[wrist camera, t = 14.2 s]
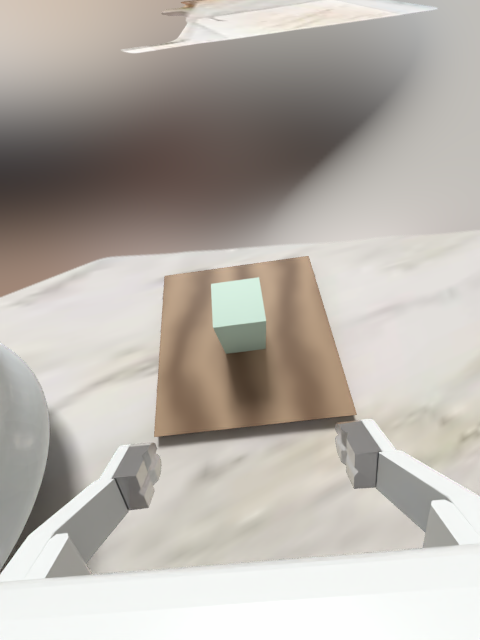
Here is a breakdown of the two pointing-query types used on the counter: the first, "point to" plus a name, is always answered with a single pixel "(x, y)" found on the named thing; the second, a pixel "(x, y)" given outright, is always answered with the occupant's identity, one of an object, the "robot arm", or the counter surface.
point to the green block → (239, 315)
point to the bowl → (19, 446)
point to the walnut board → (248, 355)
